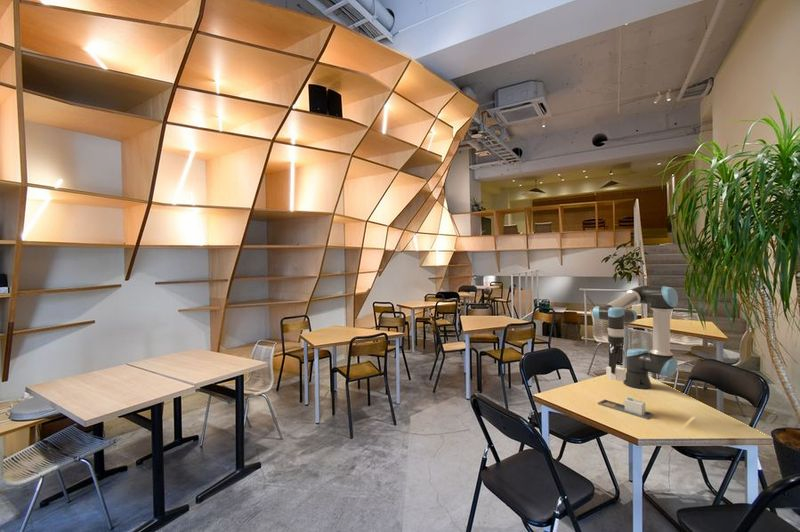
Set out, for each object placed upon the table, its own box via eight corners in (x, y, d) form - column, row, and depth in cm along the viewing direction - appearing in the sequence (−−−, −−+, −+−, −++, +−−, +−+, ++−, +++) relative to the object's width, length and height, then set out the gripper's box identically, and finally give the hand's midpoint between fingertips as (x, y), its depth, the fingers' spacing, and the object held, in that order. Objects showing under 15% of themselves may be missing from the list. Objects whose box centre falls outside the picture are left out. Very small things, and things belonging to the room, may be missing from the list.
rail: (602, 401, 211) (602, 398, 211) (653, 416, 191) (653, 413, 191) (596, 405, 206) (596, 402, 206) (647, 421, 186) (647, 417, 186)
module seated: (628, 408, 199) (628, 396, 198) (645, 413, 192) (645, 400, 192) (624, 411, 195) (624, 398, 195) (641, 416, 189) (641, 403, 189)
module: (609, 375, 206) (610, 363, 206) (625, 379, 200) (625, 367, 200) (606, 377, 203) (606, 365, 203) (622, 381, 197) (622, 368, 197)
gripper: (615, 332, 210) (615, 372, 210) (601, 337, 198) (601, 379, 199) (629, 334, 204) (629, 376, 204) (616, 339, 192) (616, 383, 193)
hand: (615, 377), depth 202 cm, fingers closed on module, 5 cm apart
